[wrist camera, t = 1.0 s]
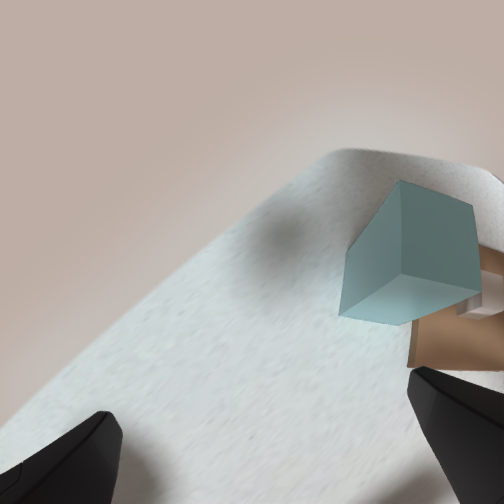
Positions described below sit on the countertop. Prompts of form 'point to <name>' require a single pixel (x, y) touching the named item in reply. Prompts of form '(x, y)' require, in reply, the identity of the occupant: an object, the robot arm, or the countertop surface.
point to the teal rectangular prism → (412, 258)
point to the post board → (465, 326)
